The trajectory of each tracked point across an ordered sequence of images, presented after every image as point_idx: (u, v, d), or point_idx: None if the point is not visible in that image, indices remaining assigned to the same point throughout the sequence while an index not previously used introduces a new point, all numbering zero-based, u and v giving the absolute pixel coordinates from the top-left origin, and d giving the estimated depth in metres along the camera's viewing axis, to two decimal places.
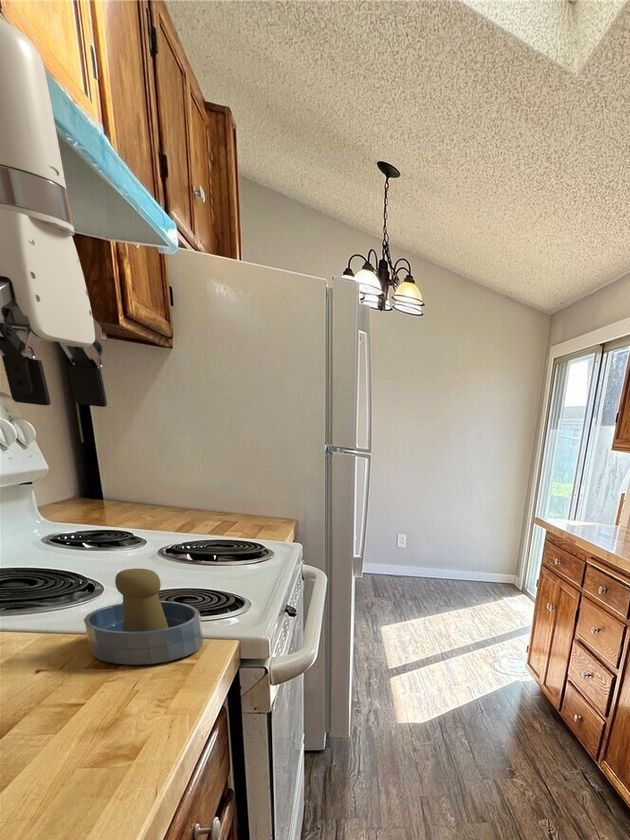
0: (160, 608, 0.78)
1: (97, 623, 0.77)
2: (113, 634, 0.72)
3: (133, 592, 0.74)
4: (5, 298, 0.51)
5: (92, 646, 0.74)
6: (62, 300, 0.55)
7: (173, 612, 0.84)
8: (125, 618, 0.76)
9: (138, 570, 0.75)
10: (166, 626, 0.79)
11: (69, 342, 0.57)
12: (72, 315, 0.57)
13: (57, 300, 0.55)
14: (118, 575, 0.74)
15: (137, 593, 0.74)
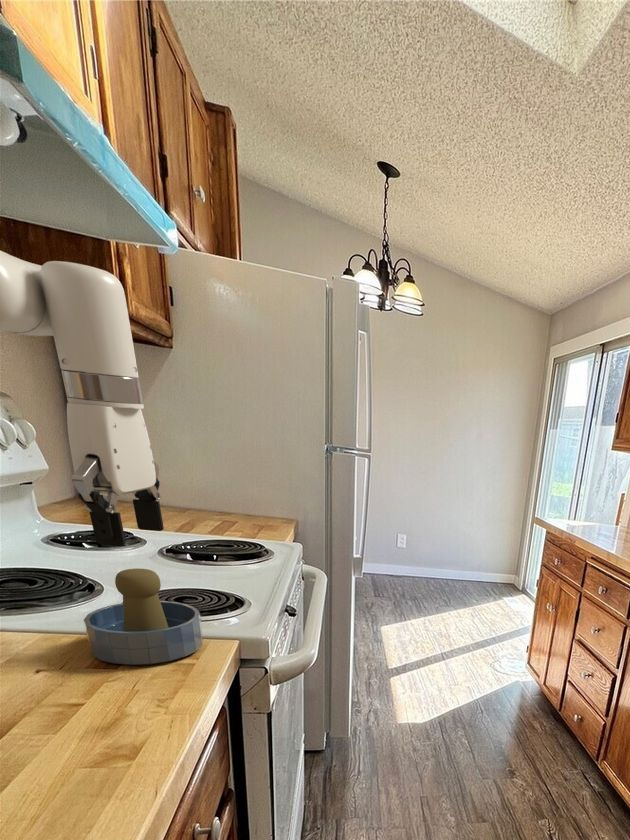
0: (160, 608, 0.78)
1: (97, 623, 0.77)
2: (113, 634, 0.72)
3: (133, 592, 0.74)
4: (95, 472, 0.64)
5: (92, 646, 0.74)
6: (134, 461, 0.69)
7: (173, 612, 0.84)
8: (125, 618, 0.76)
9: (138, 570, 0.75)
10: (166, 626, 0.79)
11: (138, 490, 0.71)
12: (141, 470, 0.70)
13: (131, 463, 0.68)
14: (118, 575, 0.74)
15: (137, 593, 0.74)
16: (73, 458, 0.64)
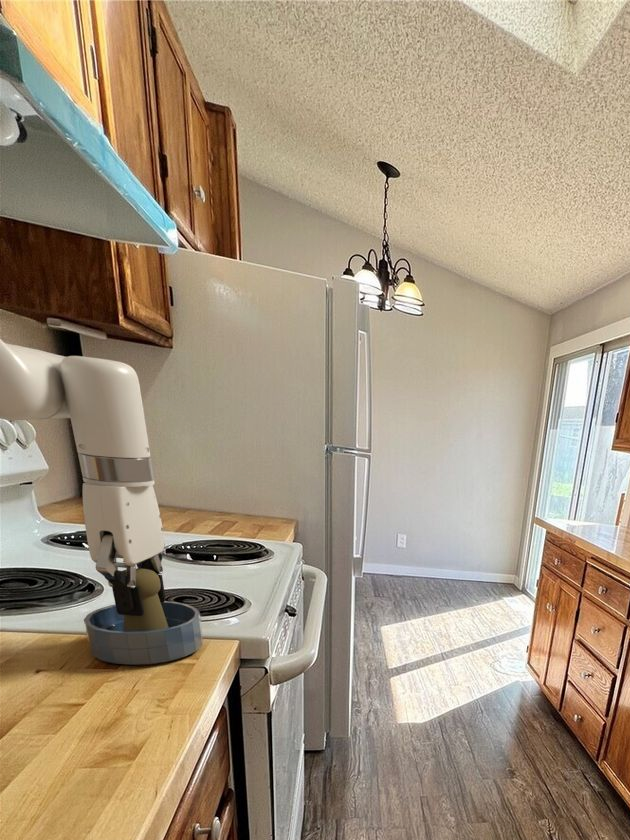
0: (160, 608, 0.78)
1: (97, 623, 0.77)
2: (113, 634, 0.72)
3: None
4: (113, 553, 0.69)
5: (92, 646, 0.74)
6: (145, 533, 0.72)
7: (173, 612, 0.84)
8: (125, 618, 0.76)
9: (138, 570, 0.75)
10: (166, 626, 0.79)
11: (148, 558, 0.75)
12: (151, 540, 0.74)
13: (142, 535, 0.72)
14: None
15: None
16: (87, 534, 0.68)
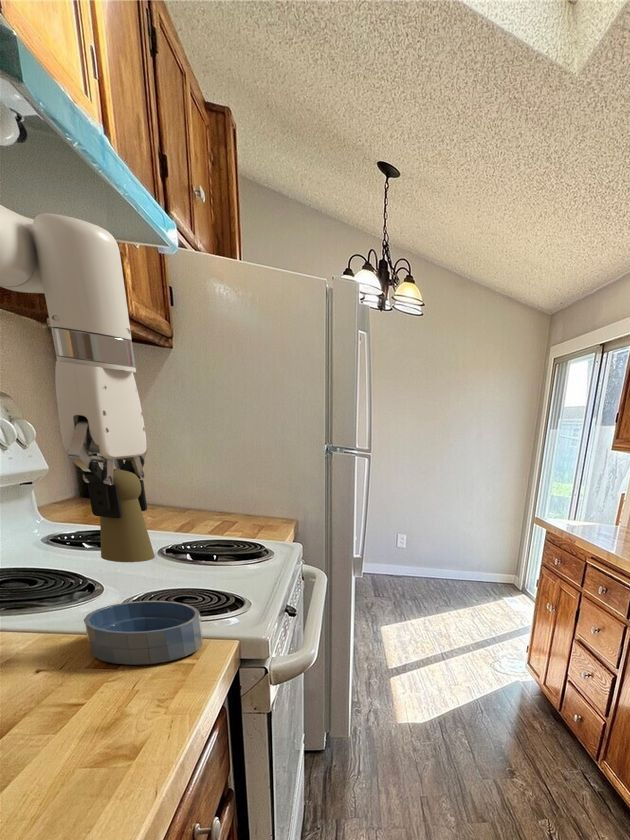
0: (140, 515, 0.72)
1: (97, 623, 0.77)
2: (113, 634, 0.72)
3: None
4: (88, 441, 0.64)
5: (92, 646, 0.74)
6: (124, 426, 0.67)
7: (173, 612, 0.84)
8: (102, 522, 0.70)
9: (117, 470, 0.70)
10: (147, 536, 0.74)
11: (127, 457, 0.69)
12: (131, 436, 0.69)
13: (121, 427, 0.66)
14: None
15: None
16: (60, 419, 0.63)
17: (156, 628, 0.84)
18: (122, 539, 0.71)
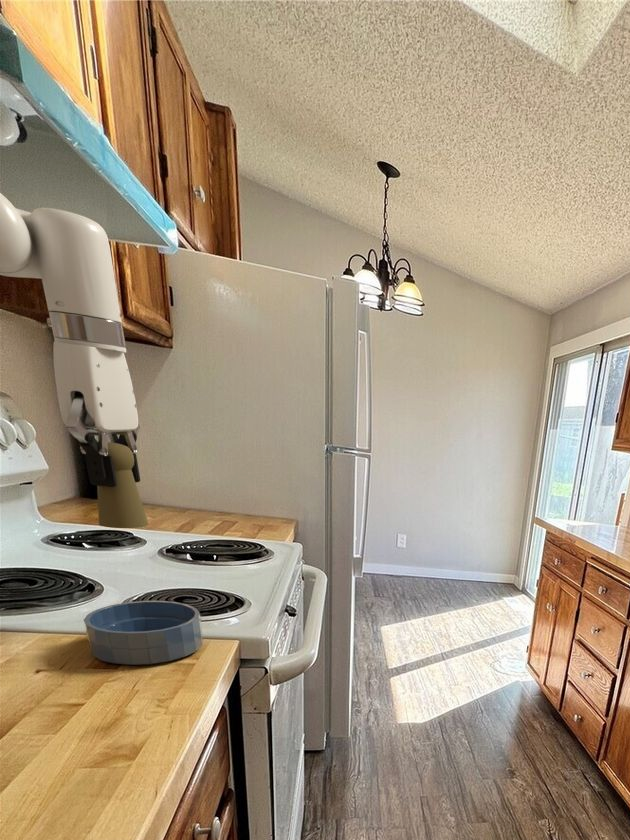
0: (134, 484, 0.79)
1: (97, 623, 0.77)
2: (113, 634, 0.72)
3: None
4: (84, 415, 0.70)
5: (92, 646, 0.74)
6: (117, 402, 0.74)
7: (173, 612, 0.84)
8: (99, 491, 0.77)
9: (111, 443, 0.76)
10: (140, 504, 0.80)
11: (120, 431, 0.76)
12: (123, 411, 0.75)
13: (114, 403, 0.73)
14: None
15: None
16: (59, 394, 0.69)
17: (156, 628, 0.84)
18: (117, 507, 0.78)
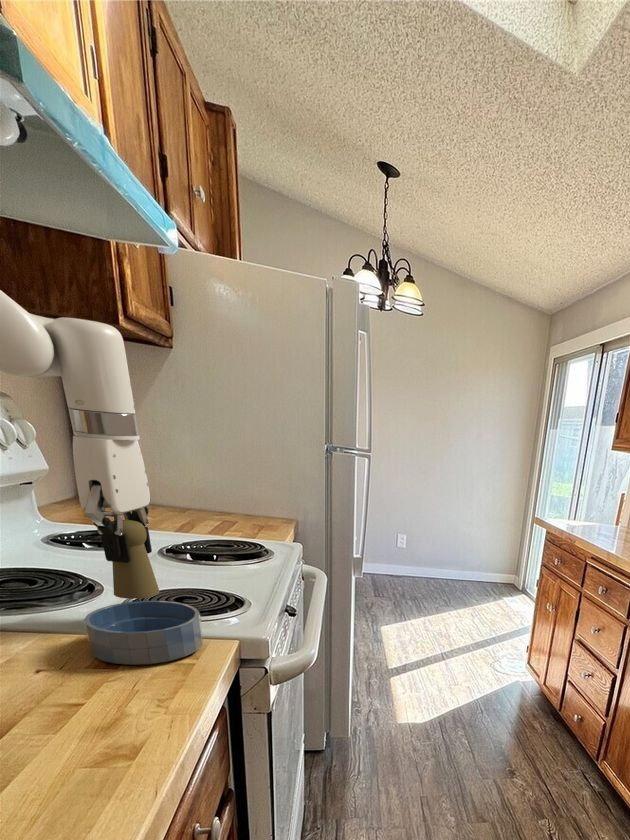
0: (146, 557, 0.84)
1: (97, 623, 0.77)
2: (113, 634, 0.72)
3: None
4: (101, 501, 0.75)
5: (92, 646, 0.74)
6: (131, 485, 0.79)
7: (173, 612, 0.84)
8: (114, 565, 0.82)
9: (125, 521, 0.82)
10: (152, 575, 0.86)
11: (134, 509, 0.81)
12: (136, 492, 0.80)
13: (128, 487, 0.78)
14: None
15: None
16: (78, 483, 0.75)
17: (156, 628, 0.84)
18: (131, 579, 0.83)
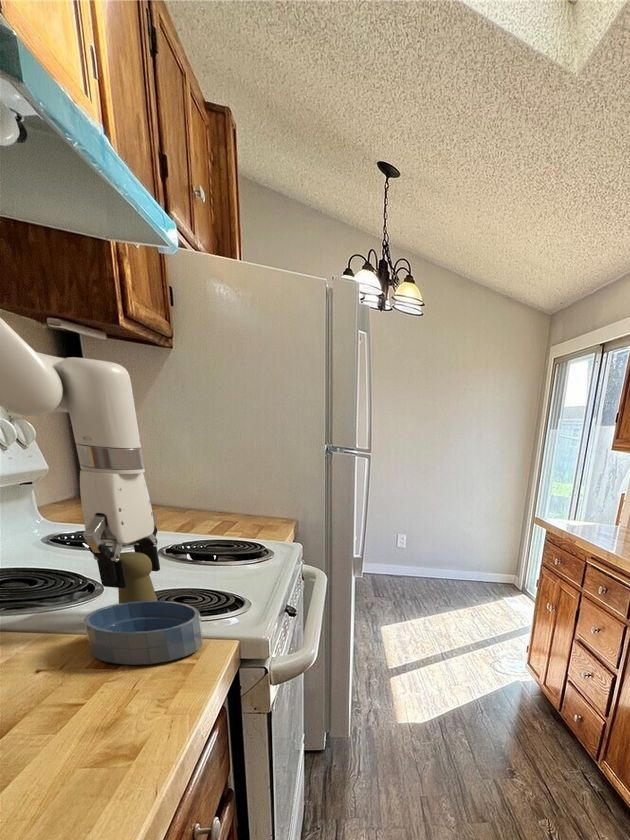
0: (152, 588, 0.86)
1: (97, 623, 0.77)
2: (113, 634, 0.72)
3: (127, 572, 0.82)
4: (102, 528, 0.76)
5: (92, 646, 0.74)
6: (136, 516, 0.81)
7: (173, 612, 0.84)
8: (120, 596, 0.84)
9: (132, 553, 0.84)
10: None
11: (138, 539, 0.83)
12: (141, 522, 0.82)
13: (133, 518, 0.80)
14: None
15: (131, 574, 0.83)
16: (84, 516, 0.76)
17: (156, 628, 0.84)
18: None
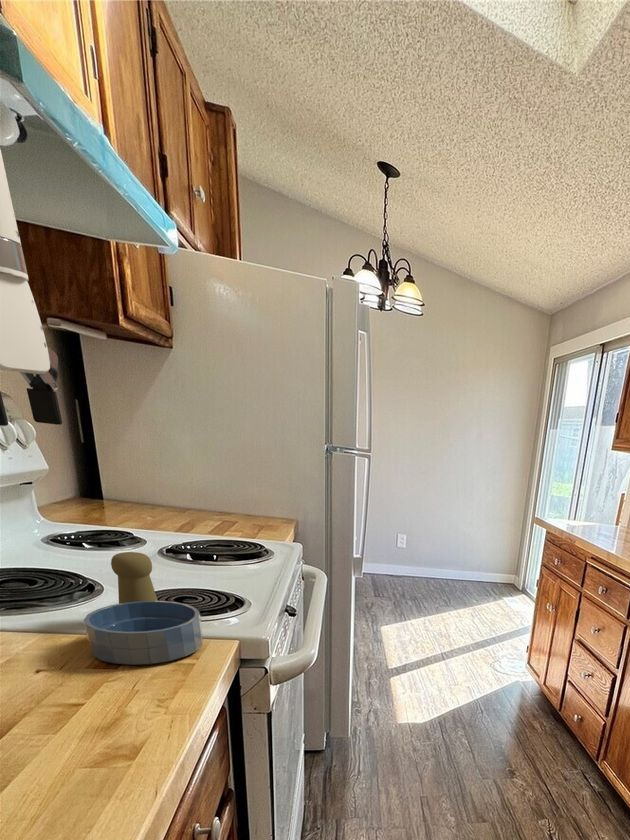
0: (152, 588, 0.86)
1: (97, 623, 0.77)
2: (113, 634, 0.72)
3: (127, 572, 0.82)
4: None
5: (92, 646, 0.74)
6: (18, 336, 0.65)
7: (173, 612, 0.84)
8: (120, 596, 0.84)
9: (132, 553, 0.84)
10: None
11: (25, 371, 0.67)
12: (27, 348, 0.66)
13: (13, 337, 0.64)
14: (114, 557, 0.82)
15: (131, 574, 0.83)
16: None
17: (156, 628, 0.84)
18: None
